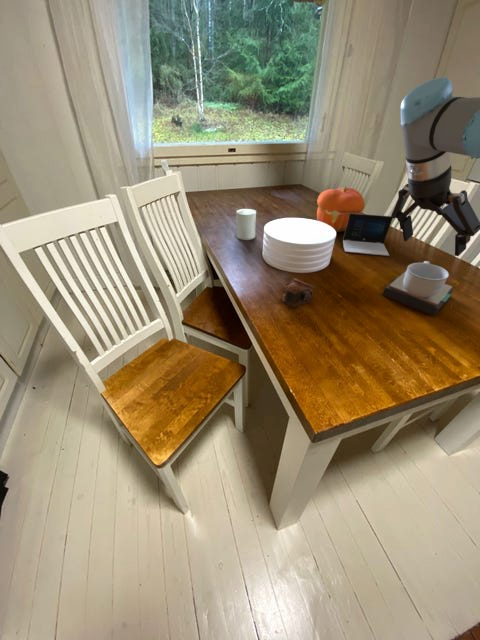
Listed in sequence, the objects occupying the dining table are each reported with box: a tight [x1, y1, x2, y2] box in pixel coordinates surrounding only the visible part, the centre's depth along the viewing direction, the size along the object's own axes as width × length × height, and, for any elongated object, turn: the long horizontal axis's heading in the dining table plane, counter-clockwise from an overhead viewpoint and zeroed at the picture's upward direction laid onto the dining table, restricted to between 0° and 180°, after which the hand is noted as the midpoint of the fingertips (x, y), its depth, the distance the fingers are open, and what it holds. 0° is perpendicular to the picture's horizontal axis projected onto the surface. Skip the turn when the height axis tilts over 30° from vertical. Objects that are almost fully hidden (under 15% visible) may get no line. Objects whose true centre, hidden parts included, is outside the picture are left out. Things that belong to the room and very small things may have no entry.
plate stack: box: [262, 217, 337, 274], centre depth 111 cm, size 28×28×12 cm
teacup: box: [403, 260, 450, 298], centre depth 85 cm, size 14×11×8 cm
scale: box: [382, 271, 455, 317], centre depth 90 cm, size 16×16×4 cm
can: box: [235, 208, 257, 241], centre depth 127 cm, size 9×9×12 cm
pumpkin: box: [316, 186, 366, 233], centre depth 134 cm, size 23×23×20 cm
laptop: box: [342, 213, 394, 257], centre depth 117 cm, size 18×12×13 cm
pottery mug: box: [281, 277, 315, 308], centre depth 87 cm, size 12×10×8 cm
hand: (432, 244), depth 71 cm, fingers open, 13 cm apart
